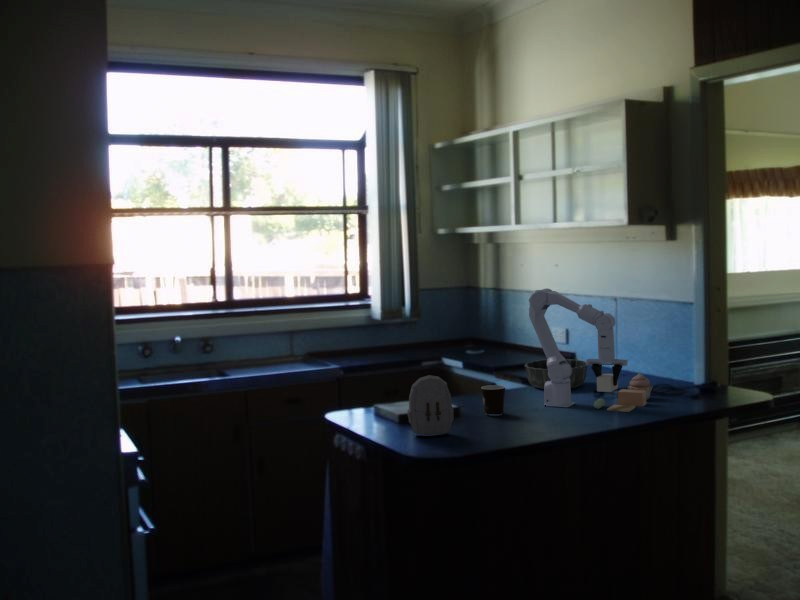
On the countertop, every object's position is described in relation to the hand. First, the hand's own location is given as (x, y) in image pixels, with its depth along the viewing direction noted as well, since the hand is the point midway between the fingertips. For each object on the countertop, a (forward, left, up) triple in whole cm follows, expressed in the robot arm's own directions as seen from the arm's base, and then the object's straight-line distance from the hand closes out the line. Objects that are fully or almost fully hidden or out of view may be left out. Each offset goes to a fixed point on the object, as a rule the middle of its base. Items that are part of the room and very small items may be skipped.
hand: (607, 384), depth 289 cm
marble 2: (-3, +2, -9) cm, 9 cm away
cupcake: (+6, +20, -9) cm, 23 cm away
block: (0, 0, -2) cm, 2 cm away
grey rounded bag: (-40, -60, -9) cm, 73 cm away
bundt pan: (-33, +36, -9) cm, 49 cm away
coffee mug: (-35, -22, -9) cm, 42 cm away
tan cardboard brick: (+6, +9, -9) cm, 14 cm away
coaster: (+5, 0, -9) cm, 10 cm away
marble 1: (-3, -2, -9) cm, 9 cm away
